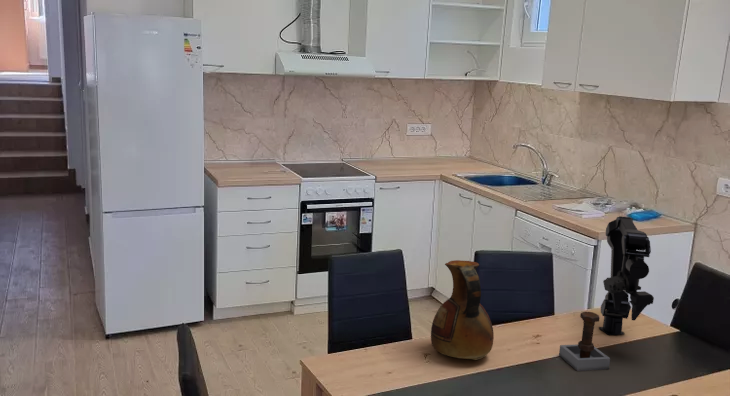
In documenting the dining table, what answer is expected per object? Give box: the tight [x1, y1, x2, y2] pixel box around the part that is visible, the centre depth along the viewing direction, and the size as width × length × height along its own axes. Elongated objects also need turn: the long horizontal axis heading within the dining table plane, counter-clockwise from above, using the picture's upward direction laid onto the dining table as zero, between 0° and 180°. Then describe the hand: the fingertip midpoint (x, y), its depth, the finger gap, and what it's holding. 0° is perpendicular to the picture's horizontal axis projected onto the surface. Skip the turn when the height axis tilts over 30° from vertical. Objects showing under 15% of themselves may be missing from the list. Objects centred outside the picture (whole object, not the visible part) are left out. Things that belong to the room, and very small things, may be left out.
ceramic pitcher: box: [430, 259, 495, 361], centre depth 204 cm, size 20×20×30 cm
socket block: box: [558, 343, 611, 372], centre depth 206 cm, size 11×11×4 cm
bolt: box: [577, 311, 600, 358], centre depth 205 cm, size 6×5×15 cm
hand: (624, 315), depth 216 cm, fingers open, 9 cm apart
